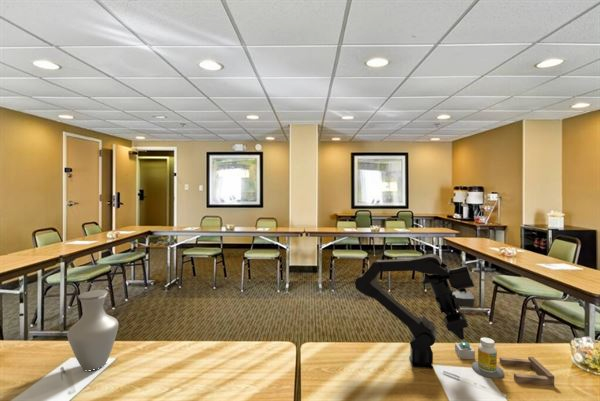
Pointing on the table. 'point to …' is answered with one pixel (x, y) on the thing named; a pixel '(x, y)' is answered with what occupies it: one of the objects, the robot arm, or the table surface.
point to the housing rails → (532, 363)
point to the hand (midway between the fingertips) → (458, 330)
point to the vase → (93, 332)
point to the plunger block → (464, 352)
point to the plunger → (464, 345)
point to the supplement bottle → (487, 355)
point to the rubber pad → (494, 375)
